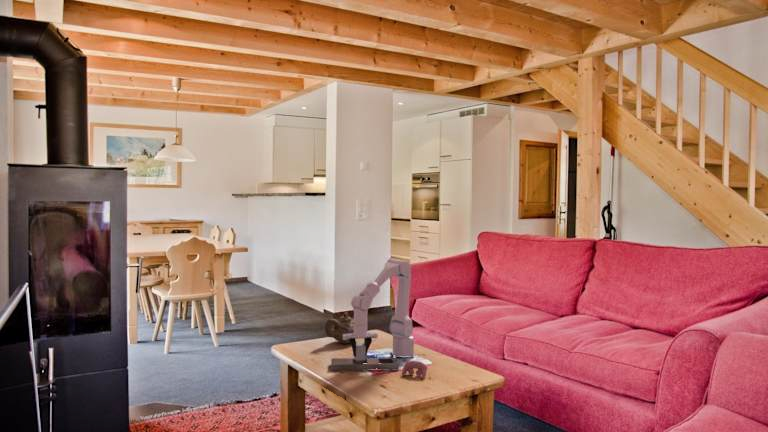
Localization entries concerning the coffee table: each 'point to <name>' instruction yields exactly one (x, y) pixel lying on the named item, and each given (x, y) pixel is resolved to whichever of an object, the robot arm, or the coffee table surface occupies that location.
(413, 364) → the video game controller
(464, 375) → the coffee table surface
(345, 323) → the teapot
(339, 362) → the rail
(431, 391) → the coffee table surface
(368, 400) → the coffee table surface
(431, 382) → the coffee table surface
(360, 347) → the peg
